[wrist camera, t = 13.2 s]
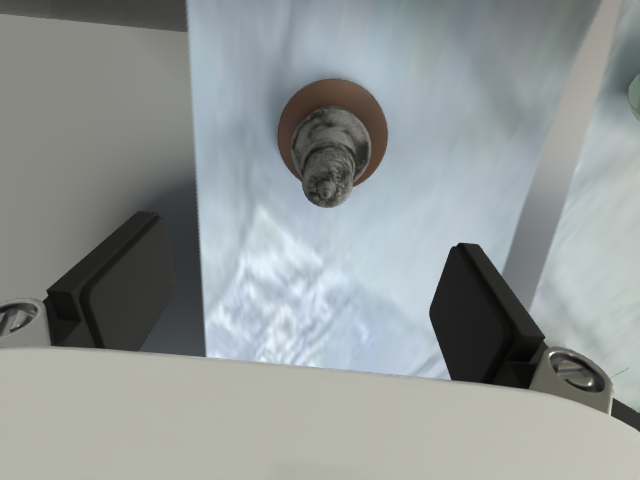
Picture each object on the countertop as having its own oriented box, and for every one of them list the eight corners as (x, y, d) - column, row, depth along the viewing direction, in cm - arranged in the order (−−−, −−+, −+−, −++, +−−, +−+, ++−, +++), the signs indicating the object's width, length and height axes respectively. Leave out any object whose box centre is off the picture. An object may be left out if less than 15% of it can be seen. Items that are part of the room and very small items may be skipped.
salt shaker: (282, 123, 27) (246, 170, 16) (349, 86, 25) (355, 114, 15) (316, 185, 29) (303, 261, 19) (379, 156, 28) (402, 220, 17)
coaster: (259, 149, 29) (257, 151, 28) (319, 51, 25) (319, 52, 24) (342, 207, 31) (342, 209, 30) (409, 125, 27) (411, 127, 26)
